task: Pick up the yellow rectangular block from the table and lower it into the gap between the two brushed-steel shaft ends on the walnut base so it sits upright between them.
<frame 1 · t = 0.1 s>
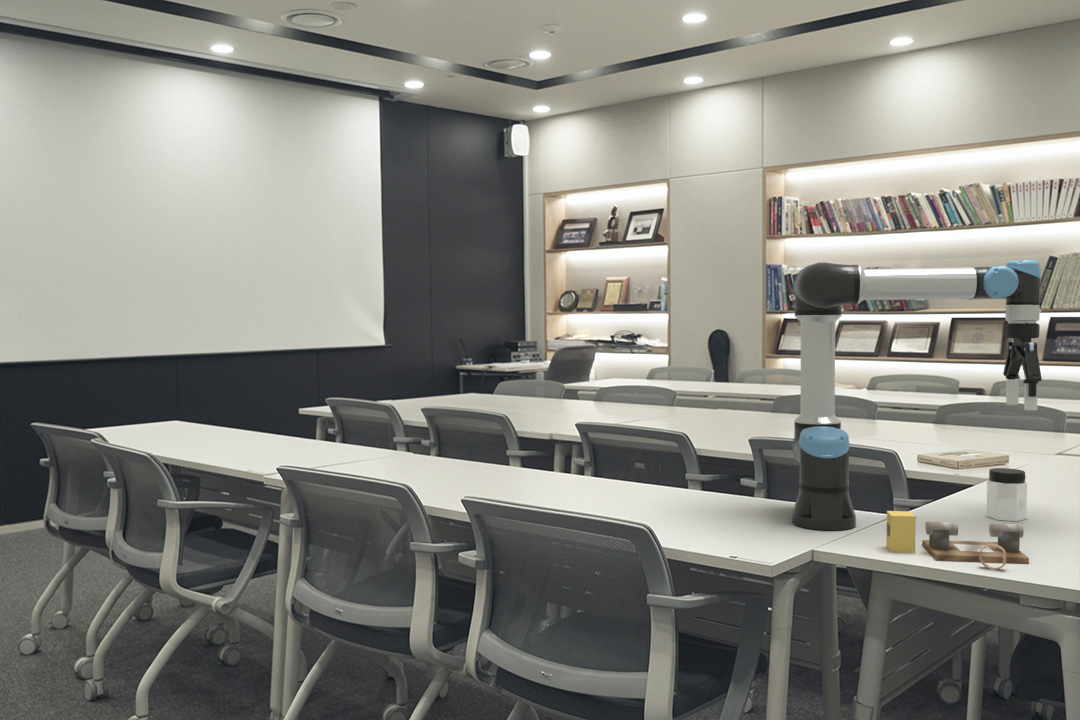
hand: (1021, 407, 231), 28 cm above the table, fingers open, 13 cm apart
rose gold watch bracelet: (992, 569, 187), on the table
shaft base: (973, 553, 198), on the table
jar: (1006, 518, 232), on the table
yellow rectangular block: (900, 549, 203), on the table
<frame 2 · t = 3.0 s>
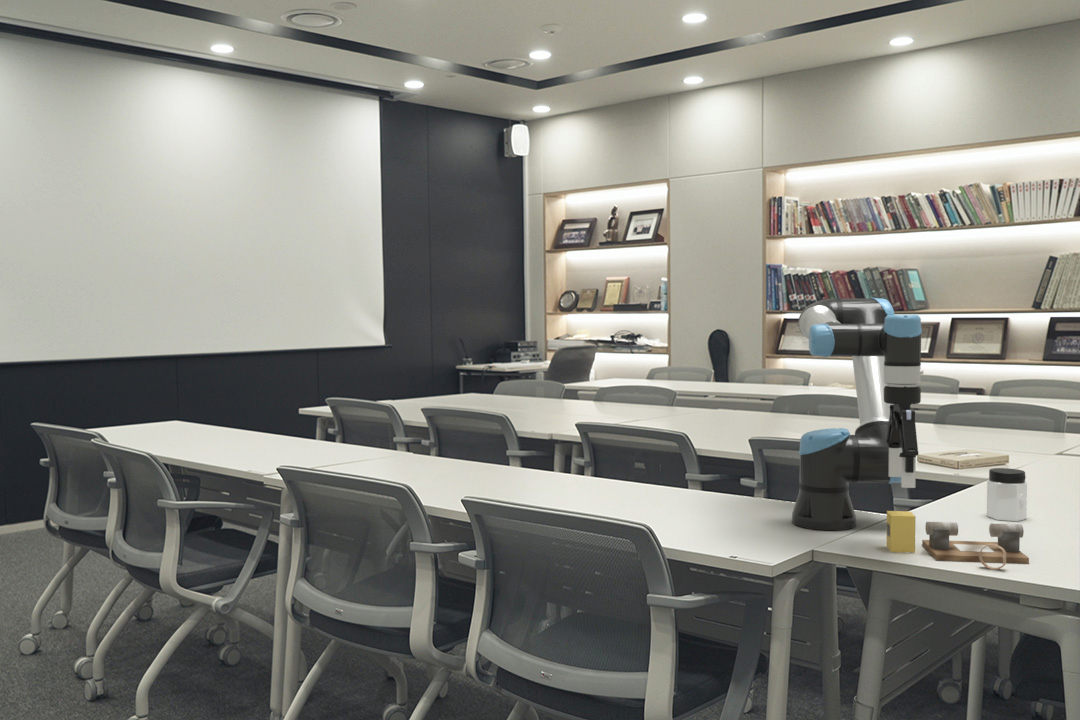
hand: (901, 482, 202), 15 cm above the table, fingers open, 13 cm apart
nothing on the table moved.
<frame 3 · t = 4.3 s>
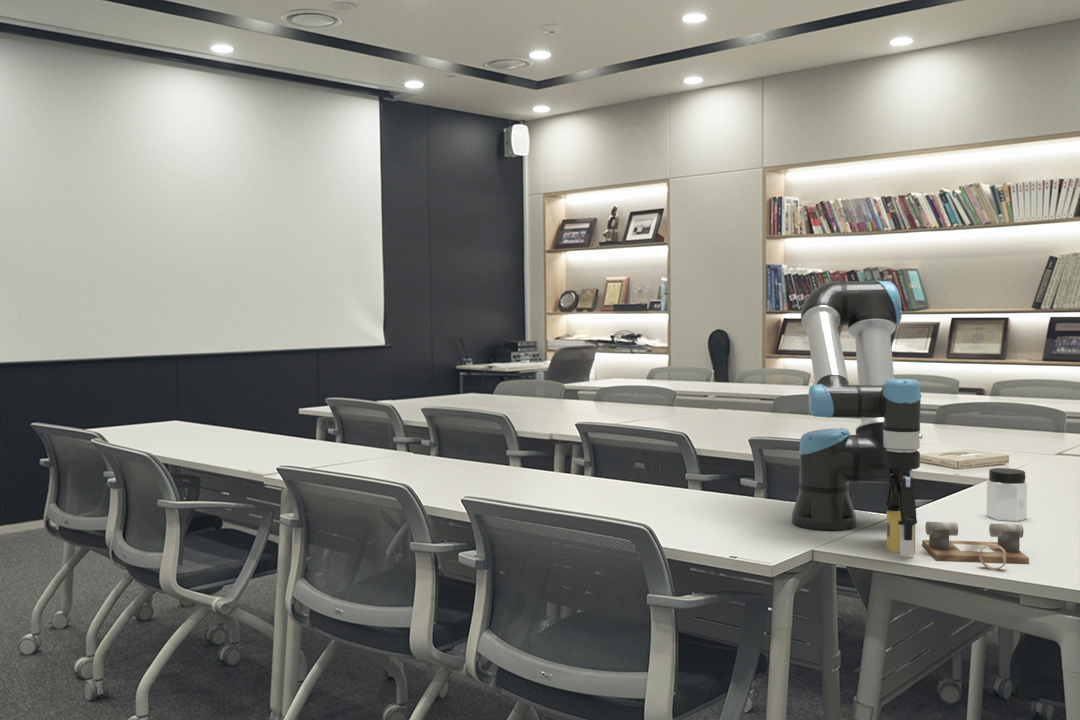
hand: (900, 547, 203), 0 cm above the table, fingers open, 12 cm apart
nothing on the table moved.
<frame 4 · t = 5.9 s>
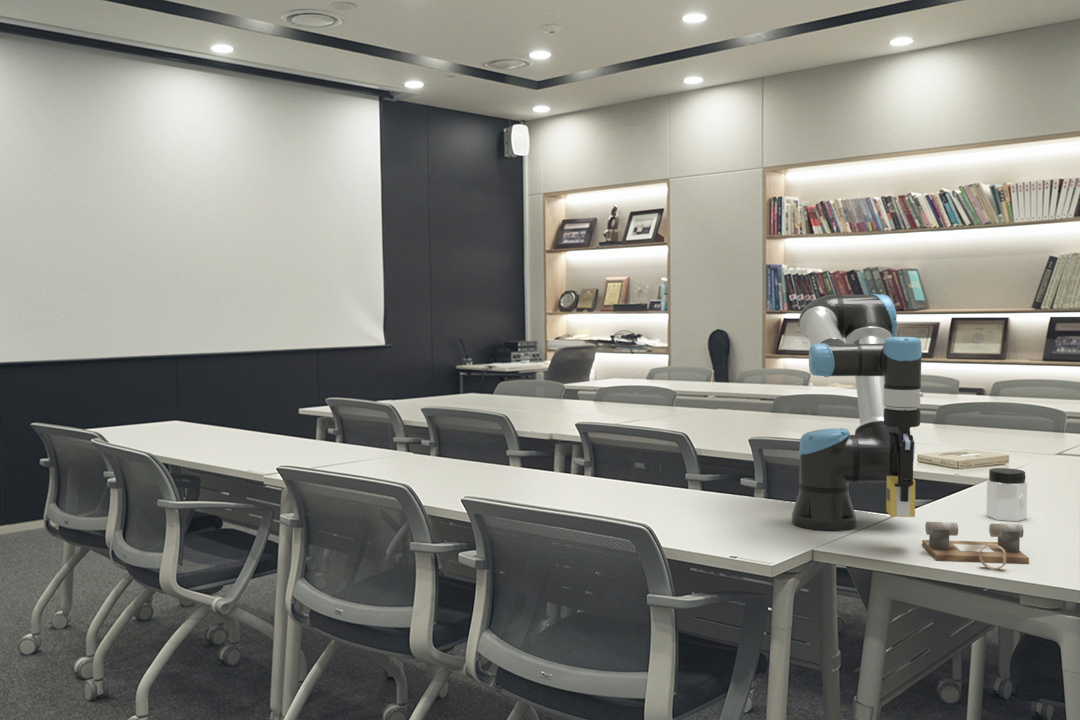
hand: (900, 512, 203), 8 cm above the table, fingers closed on yellow rectangular block, 5 cm apart
yellow rectangular block: (900, 514, 203), point 8 cm above the table, touching gripper
everything else where it was.
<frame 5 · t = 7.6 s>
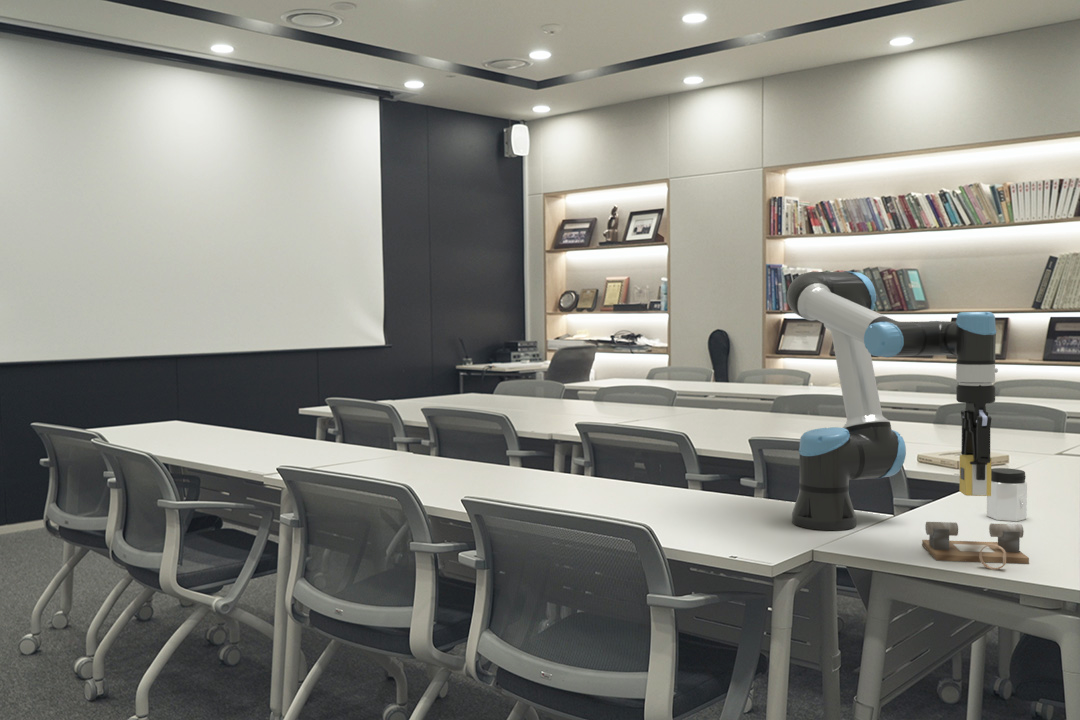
hand: (975, 492, 197), 13 cm above the table, fingers closed on yellow rectangular block, 5 cm apart
yellow rectangular block: (975, 493, 197), point 13 cm above the table, touching gripper
everything else where it was.
when the fingers open (2 cm above the table, at t = 9.5 s): yellow rectangular block stays where it is, resting on shaft base.
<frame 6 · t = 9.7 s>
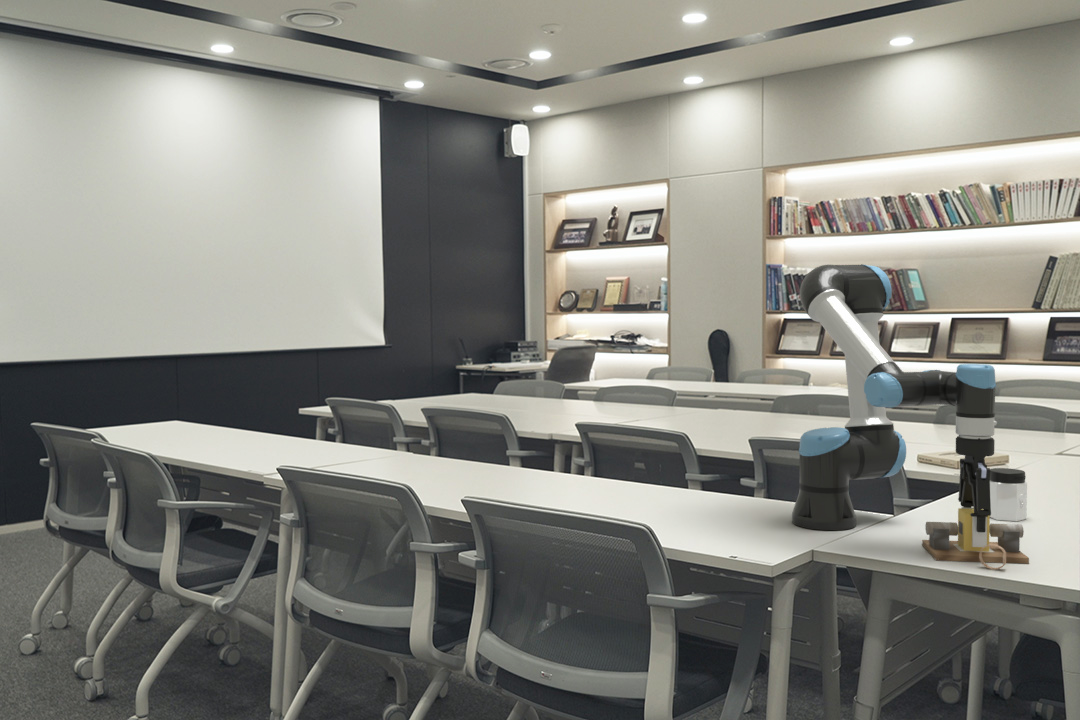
hand: (973, 541, 198), 3 cm above the table, fingers open, 8 cm apart
yellow rectangular block: (973, 547, 198), point 1 cm above the table, touching shaft base
everything else where it was.
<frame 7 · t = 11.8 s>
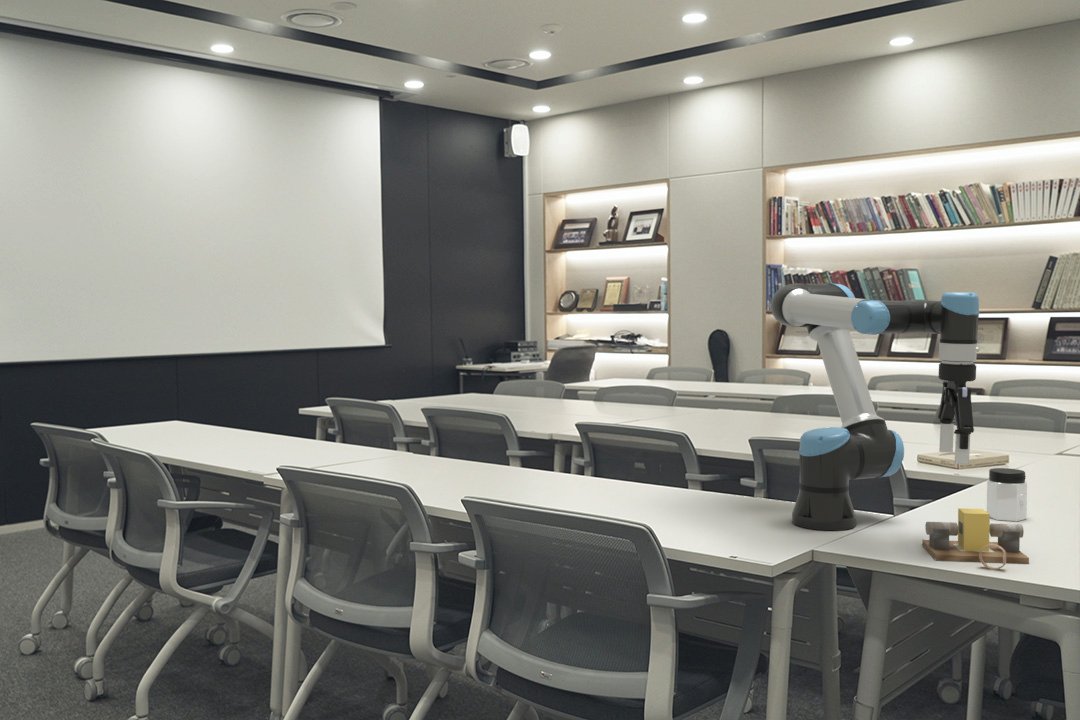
hand: (953, 457, 204), 20 cm above the table, fingers open, 13 cm apart
nothing on the table moved.
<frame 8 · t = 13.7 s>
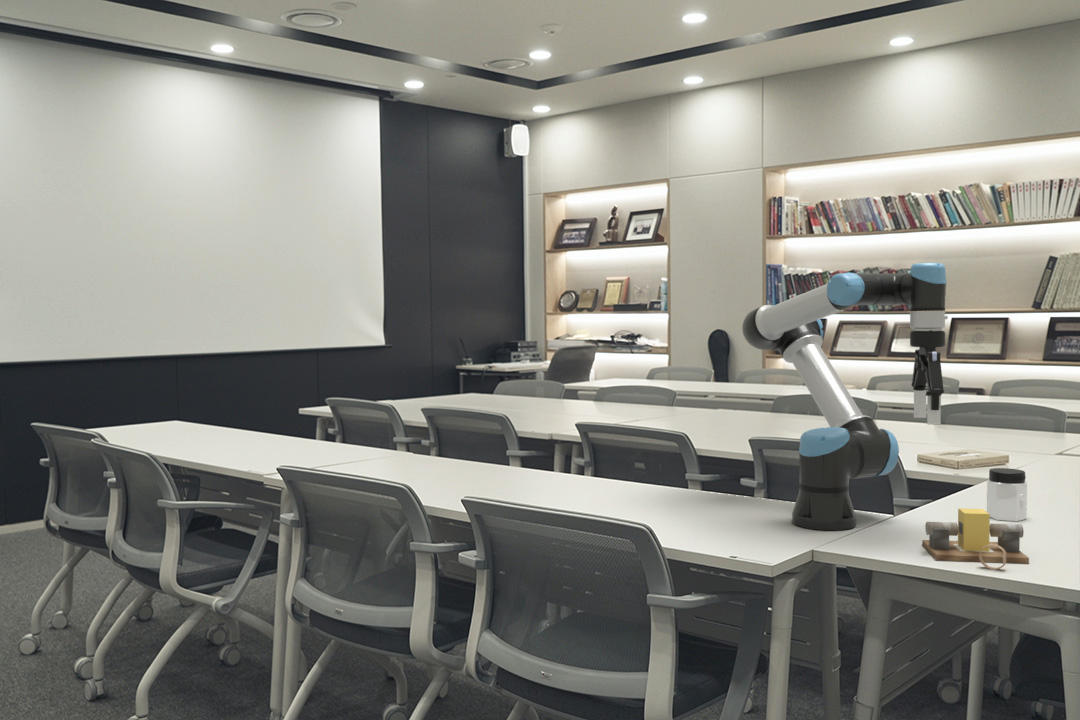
hand: (926, 421, 215), 27 cm above the table, fingers open, 13 cm apart
nothing on the table moved.
at the end: yellow rectangular block 0.0 cm off-centre on the shaft base, point 1.3 cm above the shaft base's base; yellow rectangular block tilted 0°; the gripper is holding nothing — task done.
